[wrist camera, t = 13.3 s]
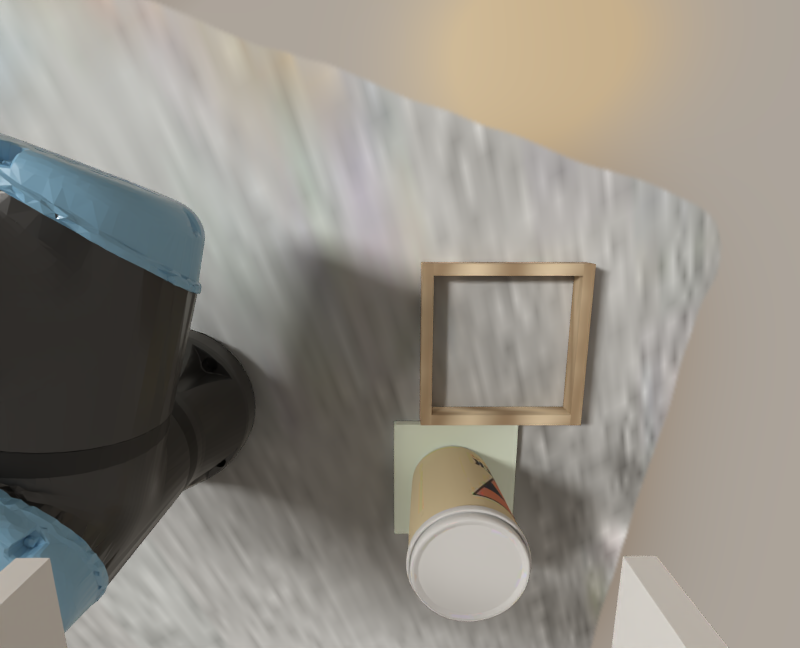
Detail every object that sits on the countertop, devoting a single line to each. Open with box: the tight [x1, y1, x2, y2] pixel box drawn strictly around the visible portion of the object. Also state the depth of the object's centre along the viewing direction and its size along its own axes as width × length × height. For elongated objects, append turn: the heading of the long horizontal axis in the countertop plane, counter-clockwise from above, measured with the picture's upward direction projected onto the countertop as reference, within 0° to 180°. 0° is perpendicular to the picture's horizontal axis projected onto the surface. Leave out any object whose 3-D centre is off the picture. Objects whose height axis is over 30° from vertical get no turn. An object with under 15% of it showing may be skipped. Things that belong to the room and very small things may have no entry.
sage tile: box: [394, 421, 518, 534], centre depth 44 cm, size 12×12×1 cm
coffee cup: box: [406, 445, 532, 622], centre depth 38 cm, size 9×9×12 cm
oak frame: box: [420, 262, 596, 425], centre depth 41 cm, size 15×15×2 cm
